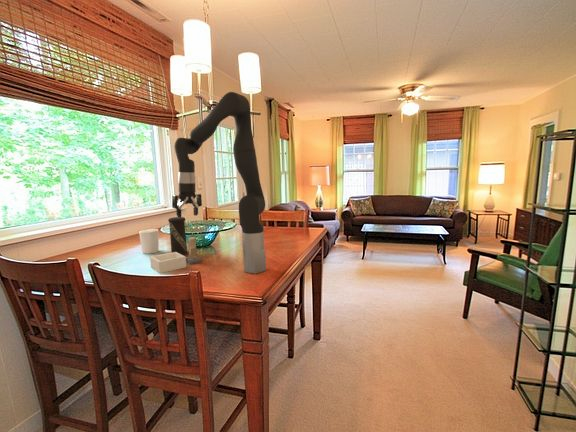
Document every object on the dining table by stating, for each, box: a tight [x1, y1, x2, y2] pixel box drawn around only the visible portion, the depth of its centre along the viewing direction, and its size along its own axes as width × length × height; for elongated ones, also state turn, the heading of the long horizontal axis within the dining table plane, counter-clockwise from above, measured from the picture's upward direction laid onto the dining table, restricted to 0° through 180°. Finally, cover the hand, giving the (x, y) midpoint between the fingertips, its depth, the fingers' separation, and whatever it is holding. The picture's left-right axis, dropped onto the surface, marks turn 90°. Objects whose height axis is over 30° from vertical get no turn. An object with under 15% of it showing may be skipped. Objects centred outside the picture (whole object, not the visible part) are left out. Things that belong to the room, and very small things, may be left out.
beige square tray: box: [149, 252, 187, 274], centre depth 139 cm, size 12×12×5 cm
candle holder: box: [138, 228, 160, 254], centre depth 167 cm, size 10×10×12 cm
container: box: [167, 216, 188, 256], centre depth 161 cm, size 9×9×20 cm
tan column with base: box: [185, 236, 203, 265], centre depth 146 cm, size 6×6×12 cm
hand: (187, 216), depth 143 cm, fingers open, 8 cm apart
